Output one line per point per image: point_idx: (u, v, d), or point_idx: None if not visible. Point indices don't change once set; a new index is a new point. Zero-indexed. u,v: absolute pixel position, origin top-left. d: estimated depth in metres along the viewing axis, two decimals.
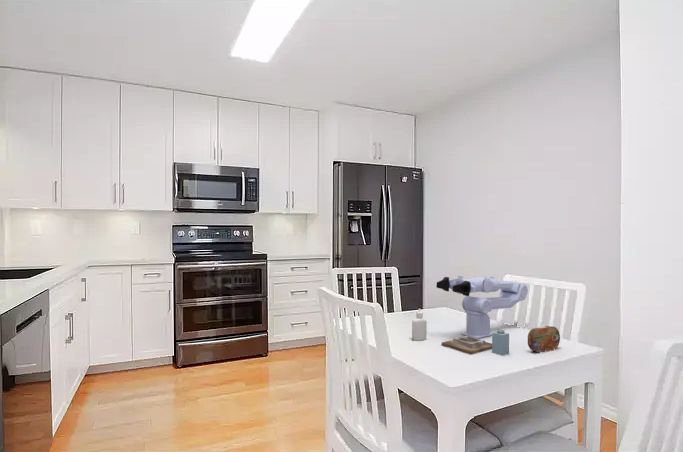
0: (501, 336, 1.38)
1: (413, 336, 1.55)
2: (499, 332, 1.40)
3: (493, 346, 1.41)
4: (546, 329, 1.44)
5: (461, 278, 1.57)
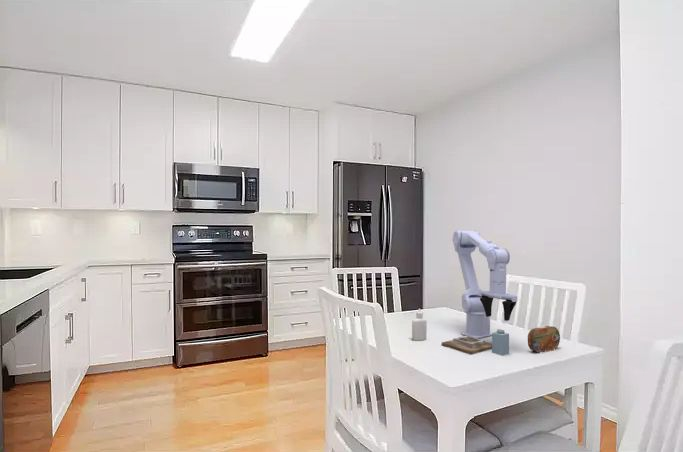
0: (501, 336, 1.38)
1: (413, 336, 1.55)
2: (499, 332, 1.40)
3: (493, 346, 1.41)
4: (546, 329, 1.44)
5: None
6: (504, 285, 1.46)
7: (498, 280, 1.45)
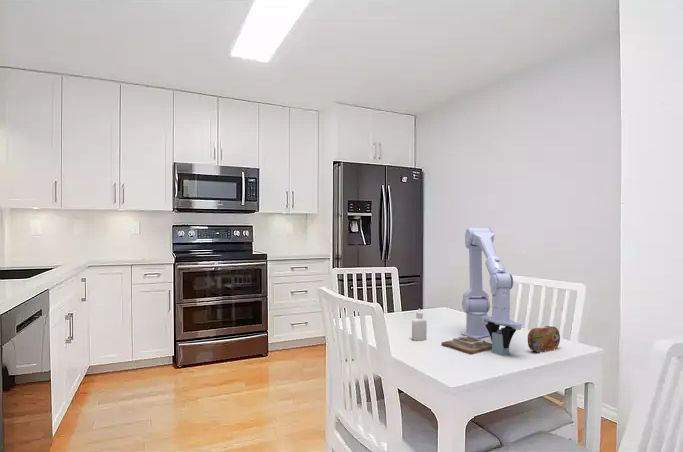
0: (501, 336, 1.38)
1: (413, 336, 1.55)
2: (499, 332, 1.40)
3: (493, 346, 1.41)
4: (546, 329, 1.44)
5: None
6: (507, 311, 1.38)
7: (500, 306, 1.38)
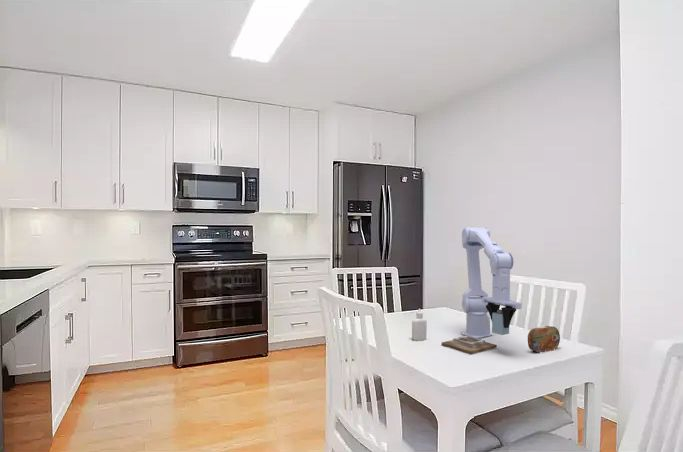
0: (501, 316, 1.38)
1: (413, 336, 1.55)
2: (499, 312, 1.40)
3: (493, 326, 1.41)
4: (546, 329, 1.44)
5: None
6: (507, 291, 1.38)
7: (500, 286, 1.38)
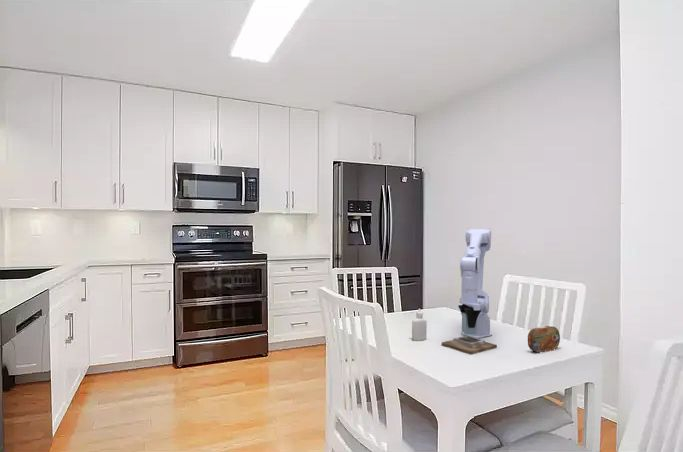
0: (465, 316, 1.46)
1: (413, 336, 1.55)
2: None
3: (462, 325, 1.49)
4: (546, 329, 1.44)
5: None
6: (472, 293, 1.45)
7: (464, 287, 1.46)
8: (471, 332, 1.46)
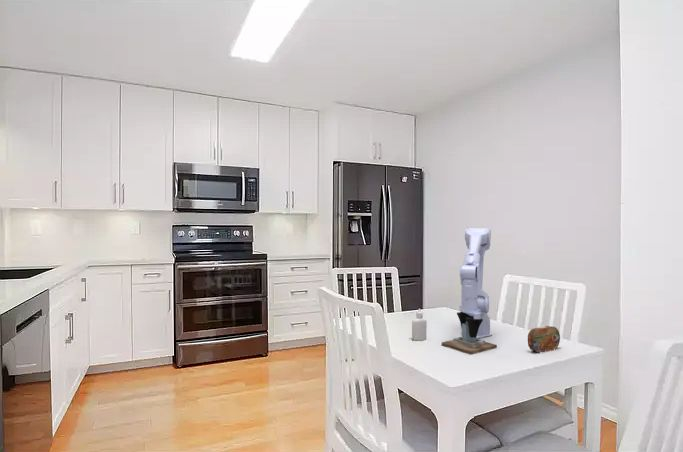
0: (465, 327, 1.46)
1: (413, 336, 1.55)
2: (466, 323, 1.48)
3: (462, 336, 1.49)
4: (546, 329, 1.44)
5: None
6: (472, 301, 1.45)
7: (464, 296, 1.46)
8: None
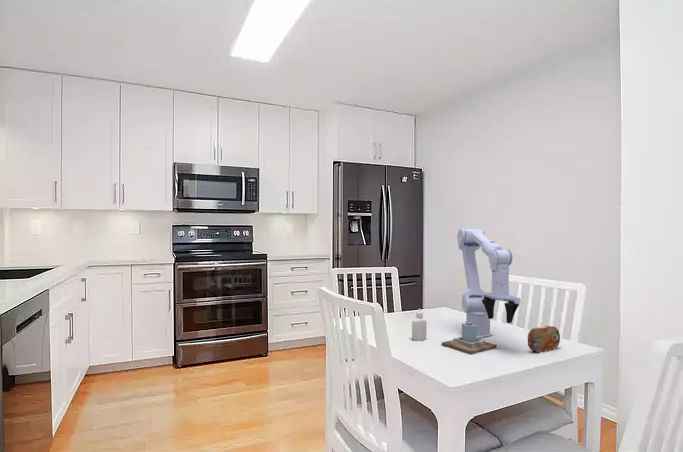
0: (465, 327, 1.46)
1: (413, 336, 1.55)
2: (466, 323, 1.48)
3: (462, 336, 1.49)
4: (546, 329, 1.44)
5: None
6: (506, 286, 1.42)
7: (500, 281, 1.42)
8: None
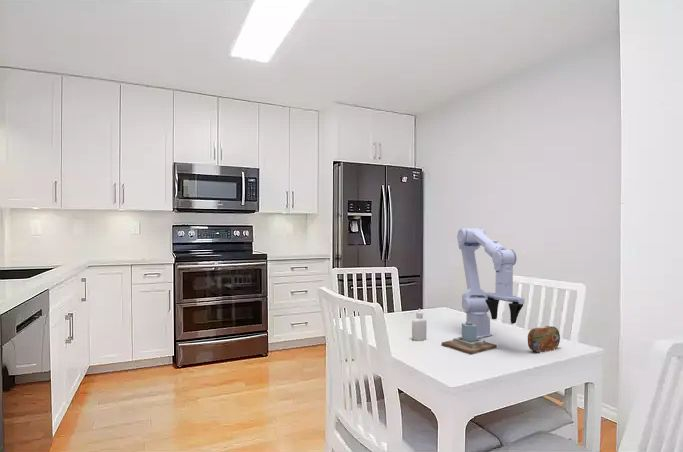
0: (465, 327, 1.46)
1: (413, 336, 1.55)
2: (466, 323, 1.48)
3: (462, 336, 1.49)
4: (546, 329, 1.44)
5: None
6: (510, 287, 1.42)
7: (504, 282, 1.41)
8: None
